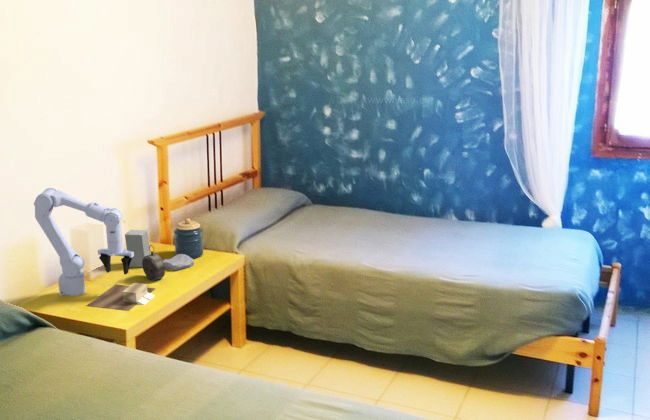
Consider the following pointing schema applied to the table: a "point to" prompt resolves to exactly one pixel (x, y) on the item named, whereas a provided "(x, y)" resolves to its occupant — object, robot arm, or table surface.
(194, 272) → the table surface
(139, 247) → the skincare box
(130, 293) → the block
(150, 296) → the paint flake
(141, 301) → the paint flake
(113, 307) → the walnut board
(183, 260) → the stone block
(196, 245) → the canister
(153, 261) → the alarm clock
